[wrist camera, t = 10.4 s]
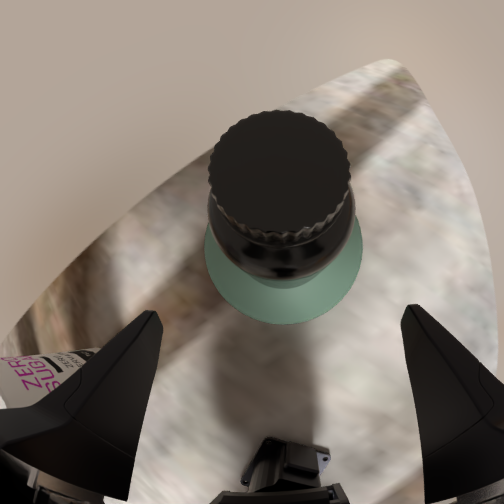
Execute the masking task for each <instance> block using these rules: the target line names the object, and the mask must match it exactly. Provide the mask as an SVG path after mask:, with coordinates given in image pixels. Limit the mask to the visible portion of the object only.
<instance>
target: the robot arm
mask: <svg viewBox="0 0 504 504" xmlns="http://www.w3.org/2000/svg"><path fill="white" fill-rule="evenodd" d="M401 331H402V337H403V344H404V351H405V359H406V364H407V369H408V373H409V378H410V383H411V387H412V392H413V397H414V403H415V408H416V414H417V420H418V427H419V434H420V442H421V450H422V459H423V460H422V461H423V474H424V495H425V504H431V503H435V502H439V501H443V500H447V499H450V498H454V497H457V501H455V502H452V503H450V504H504V384H503V383H501V382H500V381H499V380H498V379H497V378H496V377H495V376H494V375H493V374H492V373H491V372H490V371H489V370H488V369H487V368H486V367H485V366H484V365H483V364H482V363H481V362H479V360H478V359H477V358H476V357H475V356H474V355H473V354H472V353H471V352H470V351H469V350H468V349H466V348H465V347H464V346H463V345H462V344H461V343H460V342H459V341H458V340H457V339H456V338H455V337H454V336H453V335H452V334H451V333H450V332H449V331H447V330H446V329H445V328H444V327H443V326H442V325H441V324H440V323H439V322H438V321H437V320H435V319H434V318H433V317H432V316H431V315H430V314H429V313H428V312H427V311H425V310H424V309H423V308H422V307H421V306H420V305H418V304H410V305H408V306H407V307H406V309H405V312H404V314H403V317H402V319H401ZM162 335H163V325H162V323H161V321H160V318H159V316H158V314H157V312H156V311H153V310H145V311H144V312H142V313H141V314H140V315H139V316H138V317H137V318H135V319H134V320H133V321H132V322H131V323H130V324H129V325H127V326H126V327H125V328H124V329H123V330H122V331H120V332H119V333H118V334H117V335H116V336H115V337H114V338H113V339H111V340H110V341H109V342H108V343H107V344H106V345H105V346H103V347H102V348H101V349H100V350H99V351H98V352H97V353H96V354H94V355H93V356H92V357H91V358H90V359H89V360H88V361H87V362H86V363H84V364H83V365H82V367H80V368H79V369H78V370H77V371H76V372H74V373H73V374H72V375H71V376H70V377H69V378H68V379H66V380H65V381H64V382H63V383H61V384H60V385H59V386H58V387H56V388H55V389H54V390H52V391H51V392H50V393H48V394H47V395H46V396H45V397H43V398H42V399H41V400H39V401H38V402H36V403H35V404H33V405H31V406H27V407H20V408H6V409H0V504H105V503H104V501H103V499H104V496H108V497H111V498H115V499H118V500H122V501H126V502H127V500H128V495H129V489H130V483H131V478H132V472H133V467H134V462H135V457H136V452H137V447H138V442H139V438H140V433H141V429H142V424H143V420H144V416H145V412H146V408H147V404H148V400H149V396H150V392H151V388H152V384H153V380H154V377H155V373H156V369H157V364H158V359H159V353H160V346H161V340H162ZM267 441H271V443H267ZM324 457H327V459H323V458H324ZM330 460H331V456H330V454H328V453H325V452H321V451H317V450H315V448H312V447H308V446H304V445H301V444H297V443H294V442H291V441H290V442H285V441H282V440H279V439H276V438H273V437H266V438H264V440H263V442H262V444H261V445H260V447H259V449H258V451H257V453H256V454H255V456H254V458H253V460H252V461H251V463H250V465H249V467H248V468H247V470H246V472H245V473H244V475H243V477H242V478H241V484H242V485H244V486H247V487H249V489H248V492H230V491H222V492H221V493H220V494H219V495H218V496H217V497H216V498H215V499H214V500H213V501H212V502H211V503H210V504H350V503H349V500H348V498H347V496H346V494H345V492H344V491H343V489H342V487H341V485H340V483H336V484H332V485H331V486H325V487H321V483H320V477H319V476H320V475H321V473H322V472H323V471H324V469H325V468H326V466H327V464H328V463H329V461H330ZM245 481H248V482H245Z"/></svg>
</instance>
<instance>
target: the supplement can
mask: <svg viewBox="0 0 504 504" xmlns="http://www.w3.org/2000/svg"><path fill="white" fill-rule="evenodd" d="M100 349H101V348H98V347H96V348H90V349H82V350H75V351H67V352H59V353H50V354H40V355H30V356H18V357H4V358H0V409H6V408H20V407H27V406H31V405H33V404H35V403H36V402H38V401H39V400H41V399H42V398H43V397H45V396H46V395H47V394H48V393H50V392H51V391H52V390H54V389H55V388H56V387H58V386H59V385H60V384H61V383H63V382H64V381H65V380H66V379H68V378H69V377H70V376H71V375H72V374H73V373H74V372H76V371H77V370H78V369H79V368H80V367H82V365H83V364H84V363H86V362H87V361H88V360H89V359H90V358H91V357H92V356H93V355H94V354H96V353H97V352H98V351H99V350H100Z"/></svg>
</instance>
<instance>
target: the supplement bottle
mask: <svg viewBox="0 0 504 504" xmlns="http://www.w3.org/2000/svg"><path fill="white" fill-rule="evenodd" d="M210 161H211V163H210V165H209V167H208V171H209V174H210V176H209V179H208V182H209V184H210V186H211V190H210V193H209V198H208V221H209V226H210V229H211V232H212V235H213V237H214V239H215V241H216V243H217V245H218V246H219V248H220V249H221V251H222V252H223V253H224V254H225V256H226V257H227V258H228V259H229V260H230V261H231V262H232V263H233V264H235V265H236V266H237V267H238V268H240V269H241V270H242V271H244V272H245V273H246V274H248V275H249V276H250V277H252V278H253V279H254V280H256V281H257V282H259V283H261V284H263V285H265V286H268V287H272V288H277V289H290V288H295V287H299V286H301V285H304V284H306V283H307V282H309V281H311V280H312V279H313V278H315V277H316V276H317V275H318V274H319V273H321V272H322V271H323V270H324V269H325V268H326V267H327V266H328V265H329V264H331V263H332V262H333V261H334V260H335V259H336V258H337V256H338V255H339V254H340V253H341V251H342V250H343V248H344V247H345V245H346V244H347V242H348V240H349V238H350V236H351V233H352V230H353V226H354V222H355V211H356V208H355V198H354V194H353V190H352V187H351V184H350V180H351V175H350V172H349V170H350V162H349V161H348V159H347V152H346V150H345V149H344V148H343V145H342V141H340V140H339V139H338V138H337V137H336V135H335V133H334V131H332V130H330V129H328V128H327V126H326V125H325V124H324V123H322V122H318V121H317V120H316V119H315V118H314V117H309V116H306V115H305V114H303V113H295V112H292V111H290V110H288V111H280V110H274V111H271V112H269V111H263V112H261V113H259V114H253V115H251V116H249V117H248V118H246V119H242V120H240V121H239V122H238V123H237V124H236V125H233V126H231V127H230V128H229V130H228V131H227V132H226V133H225V134H223V135H222V136H221V138H220V141H219V142H218V143H217V144H216V145H215V147H214V152H213V153H212V154H211V156H210Z"/></svg>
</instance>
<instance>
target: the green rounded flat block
mask: <svg viewBox="0 0 504 504" xmlns="http://www.w3.org/2000/svg"><path fill="white" fill-rule="evenodd" d="M204 249H205V260H206V265H207V268H208V272H209V275H210V277H211V279H212V281H213V283H214V285H215V287H216V288H217V290H218V291H219V293H220V294H221V295H222V296H223V297H224V299H225V300H226V301H227V302H228V303H229V304H231V305H232V306H233V307H234V308H235V309H237V310H238V311H240V312H241V313H243V314H244V315H247V316H249V317H251V318H253V319H256V320H259V321H262V322H266V323H271V324H284V325H286V324H297V323H301V322H305V321H309V320H311V319H314V318H316V317H318V316H320V315H322V314H324V313H326V312H327V311H329V310H330V309H331V308H333V307H334V306H335V305H337V304H338V303H339V302H340V301H341V300H342V299H343V298H344V296H345V295H346V294H347V292H348V291H349V290H350V288H351V286H352V285H353V283H354V281H355V279H356V277H357V274H358V271H359V268H360V264H361V260H362V251H363V245H362V234H361V229H360V226H359V222H358V219H357V217H356V215H355V222H354V226H353V230H352V233H351V236H350V238H349V240H348V242H347V244H346V245H345V247H344V248H343V250H342V251H341V253H340V254H339V255H338V256H337V258H336V259H335V260H334V261H333V262H332V263H331V264H329V265H328V266H327V267H326V268H325V269H324V270H323V271H322V272H321V273H319V274H318V275H317V276H316V277H315V278H313V279H312V280H311V281H309V282H307V283H306V284H304V285H301V286H299V287H295V288H290V289H277V288H272V287H268V286H265V285H263V284H261V283H259V282H257V281H256V280H254V279H253V278H252V277H250V276H249V275H248V274H246V273H245V272H244V271H242V270H241V269H240V268H238V267H237V266H236V265H235V264H233V263H232V262H231V261H230V260H229V259H228V258H227V257H226V256H225V254H224V253H223V252H222V251H221V249H220V248H219V246H218V245H217V243H216V241H215V239H214V237H213V235H212V232H211V229H210V226H209V223H208V225H207V230H206V234H205V243H204Z"/></svg>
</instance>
